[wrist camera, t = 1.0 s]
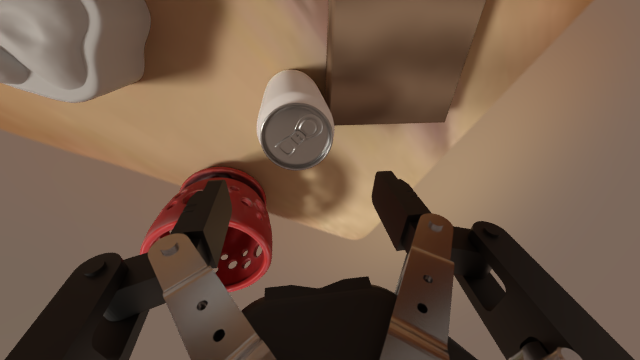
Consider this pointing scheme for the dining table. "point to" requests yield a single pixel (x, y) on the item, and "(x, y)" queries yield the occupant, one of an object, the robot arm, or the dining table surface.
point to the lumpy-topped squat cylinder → (72, 46)
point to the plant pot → (243, 229)
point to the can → (294, 121)
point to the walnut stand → (396, 58)
